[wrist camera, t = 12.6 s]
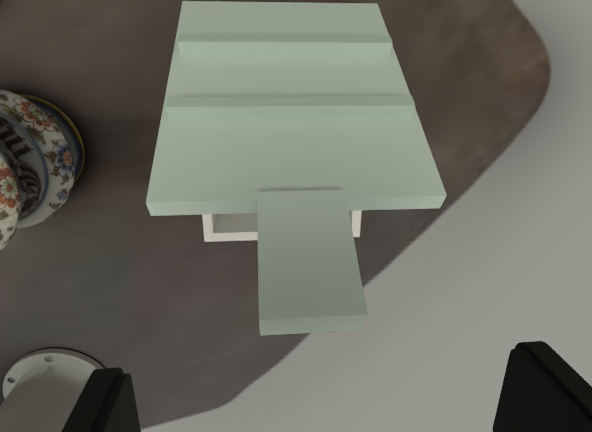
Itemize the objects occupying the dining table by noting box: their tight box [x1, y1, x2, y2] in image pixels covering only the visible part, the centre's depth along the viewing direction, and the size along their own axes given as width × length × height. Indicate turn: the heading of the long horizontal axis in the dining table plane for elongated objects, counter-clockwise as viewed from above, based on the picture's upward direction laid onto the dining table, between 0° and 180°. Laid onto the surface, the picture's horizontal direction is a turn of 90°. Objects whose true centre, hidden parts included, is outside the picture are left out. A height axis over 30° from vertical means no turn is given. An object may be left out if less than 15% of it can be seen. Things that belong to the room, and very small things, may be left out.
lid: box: [146, 1, 447, 335], centre depth 23 cm, size 24×14×2 cm
